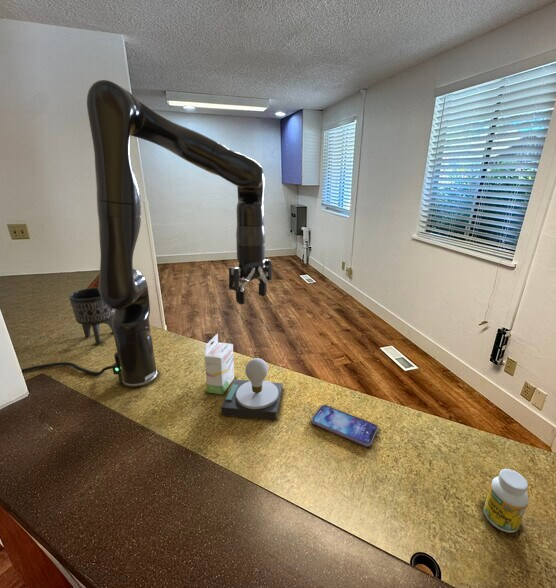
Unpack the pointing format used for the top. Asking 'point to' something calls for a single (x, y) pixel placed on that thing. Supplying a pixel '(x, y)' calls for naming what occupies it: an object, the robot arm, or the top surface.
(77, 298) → the planter
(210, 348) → the ink box
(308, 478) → the top surface
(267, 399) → the kitchen scale
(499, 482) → the supplement bottle
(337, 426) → the smartphone
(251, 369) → the light bulb
